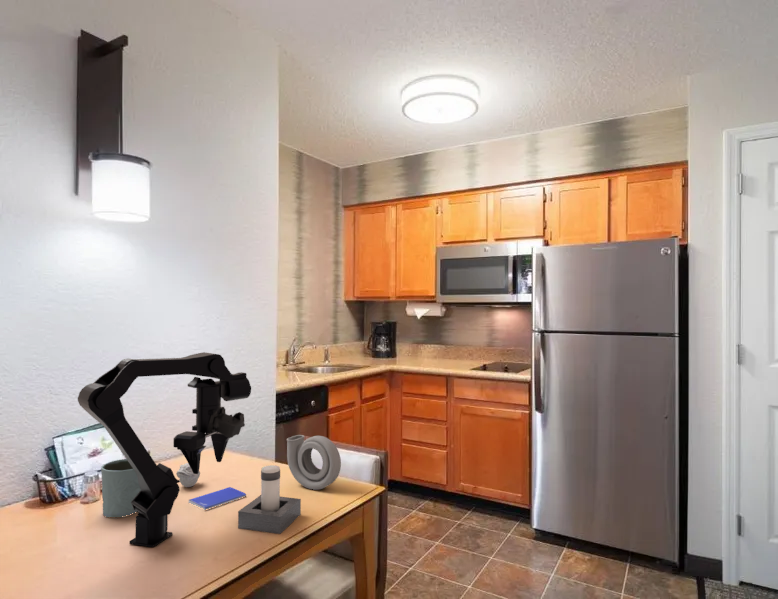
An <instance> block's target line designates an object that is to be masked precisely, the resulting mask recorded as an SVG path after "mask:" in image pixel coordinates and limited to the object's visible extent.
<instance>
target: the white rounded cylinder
mask: <svg viewBox="0 0 778 599" xmlns="http://www.w3.org/2000/svg"><path fill="white" fill-rule="evenodd" d="M280 479H281V466H279V465H274V464H273V465H272V464H271V465H265V466H263V467H261V470H260V480H261V482H260V483H261V485H260V486H261V487H260V488H261V489H260V495H261V510H266V511H274V512H277V511H278V510H279V508H280V497H281V494H280V488H281V485H280V484H281V483H280V482H281V480H280Z"/></svg>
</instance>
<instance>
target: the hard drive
mask: <svg viewBox="0 0 778 599" xmlns="http://www.w3.org/2000/svg"><path fill="white" fill-rule="evenodd" d="M245 496H246V497H247V494H246V493H245V492H244V491H241V490H238V489H236V488H234V487H231V486H229V487H226V488H222V489H219V490H217V491H213V492H210V493H206V494H203V495H201V496H197V497H194V498H191V499H188V504H189V503H191V504H193V505H196V506H198V507H200V508H203V509H204V510H206V509H209V508H212V507H215V506H219V505H221V504H225V503H228V502H230V503H232V502H231V501H233V502H235V501H234V500H236V501H238V500H237V499H239V498H242V497H245ZM246 497H245V498H246ZM242 499H243V498H242ZM239 500H240V499H239ZM191 504H190V505H191ZM228 504H229V503H228ZM193 505H192V506H193ZM225 505H226V504H225ZM219 507H220V506H219Z"/></svg>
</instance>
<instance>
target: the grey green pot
mask: <svg viewBox="0 0 778 599" xmlns="http://www.w3.org/2000/svg"><path fill="white" fill-rule="evenodd" d="M100 471H101V472H100V473H101V487H102V488H101V497H102V498H101V499H102V502H103V503H102V515H103V516H104V517H105V516H106V517H105V518H107V517H122V516H126V515H130V514H132V513H135V512H137V511H136V510H134V509H133V507H132V504H131V501H132V500H133V499H134V498H135V497H136V495H137V494H138V493H139V492H140V491H141V488H140V486H139V483H138V477H137V474H136V472H135V470H134V469H133V468H132V466H131V465H130V463H129V462H128V460H127V459H126V458H122V459H116V460H111V461H108V462H106V463H104V464H102V466H101V467H100ZM137 513H138V512H137ZM135 514H136V513H135ZM130 516H131V515H130ZM122 518H123V517H122Z"/></svg>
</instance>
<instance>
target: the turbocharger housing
mask: <svg viewBox="0 0 778 599" xmlns="http://www.w3.org/2000/svg"><path fill="white" fill-rule="evenodd" d="M305 437H306V436H305V435H303V434H297V435H292V436H291V437H288V438H286V442H287V443H286V446H287V447H286V448H287V449H286V459H287V465H288V469H289V470H290V473H291V475H292V476H293V478H294V479H295V481H296V482H297V483H299V484H300V485H301V486H303V487H304V488H306V489H309V490H312V489H313V491H315V490H318V491H319V490H322V489H325V488H326V487H328V486H330V485H332V484H333V483H334V482H335V481H336V480H337V479H338V477H339V475H340V472H341V468H342V467H341V466H342V462H341V461H342V459H341V456H340V452H339V449H338V448H337V446H336V445H335V443H334V442H333V441H332V440H330V439H329V437H326V436H323V435H314V436H310V437H308V438H306V439H305ZM313 450H316V451H317V453H318V454H319V455H320V457H321V461H322V465H321V469H320V468H318V467H317V466H316V465H315V464H314V462H313V458H312V452H313Z"/></svg>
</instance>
